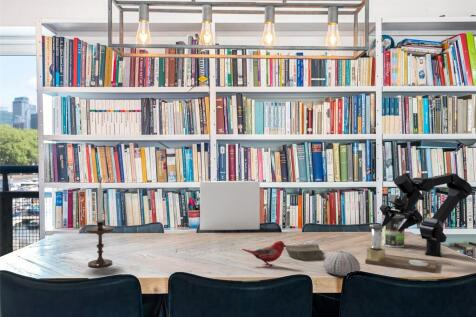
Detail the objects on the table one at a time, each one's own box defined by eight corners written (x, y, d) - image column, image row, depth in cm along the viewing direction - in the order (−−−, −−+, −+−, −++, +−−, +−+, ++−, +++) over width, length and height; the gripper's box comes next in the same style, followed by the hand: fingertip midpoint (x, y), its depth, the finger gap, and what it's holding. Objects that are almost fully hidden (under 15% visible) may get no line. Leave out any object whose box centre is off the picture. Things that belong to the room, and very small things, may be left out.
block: (200, 230, 225) (200, 182, 225) (199, 227, 233) (200, 181, 233) (259, 229, 229) (259, 181, 229) (257, 226, 237) (257, 180, 237)
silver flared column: (370, 256, 161) (370, 223, 161) (383, 258, 158) (384, 224, 158) (368, 259, 156) (368, 225, 156) (381, 261, 154) (381, 226, 153)
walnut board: (371, 256, 167) (371, 252, 167) (436, 264, 155) (436, 260, 155) (365, 263, 156) (365, 259, 156) (435, 272, 143) (435, 268, 143)
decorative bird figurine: (286, 267, 150) (286, 241, 150) (241, 265, 153) (241, 240, 152) (286, 265, 153) (286, 240, 152) (242, 263, 155) (242, 238, 155)
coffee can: (409, 246, 185) (409, 217, 185) (392, 248, 181) (392, 218, 181) (393, 242, 195) (393, 214, 195) (377, 243, 191) (377, 215, 191)
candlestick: (119, 261, 158) (119, 175, 158) (104, 269, 147) (104, 177, 147) (96, 260, 160) (96, 175, 160) (79, 267, 150) (79, 176, 149)
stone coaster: (409, 260, 155) (409, 259, 155) (428, 263, 151) (428, 261, 151) (407, 264, 149) (407, 263, 149) (427, 267, 145) (427, 265, 145)
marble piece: (318, 251, 177) (318, 242, 177) (330, 260, 162) (330, 250, 162) (282, 252, 174) (282, 243, 174) (291, 261, 160) (291, 251, 160)
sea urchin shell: (318, 268, 149) (318, 247, 149) (352, 267, 151) (352, 246, 151) (330, 279, 136) (330, 256, 136) (367, 278, 137) (367, 255, 137)
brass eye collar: (369, 256, 162) (369, 246, 162) (386, 258, 158) (386, 248, 158) (365, 259, 156) (365, 249, 156) (383, 261, 153) (383, 251, 153)
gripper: (382, 186, 171) (363, 212, 166) (418, 189, 154) (397, 219, 149) (395, 203, 174) (376, 229, 169) (432, 208, 157) (412, 238, 152)
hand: (389, 228), depth 160 cm, fingers open, 9 cm apart
